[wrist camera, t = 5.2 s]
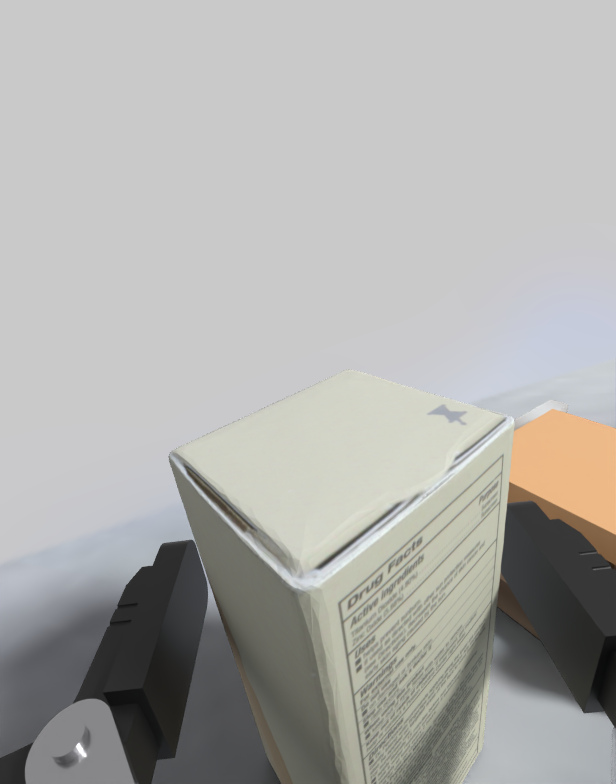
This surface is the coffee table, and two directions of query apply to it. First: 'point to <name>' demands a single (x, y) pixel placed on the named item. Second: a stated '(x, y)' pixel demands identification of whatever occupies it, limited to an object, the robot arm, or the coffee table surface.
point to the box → (357, 574)
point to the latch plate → (569, 474)
